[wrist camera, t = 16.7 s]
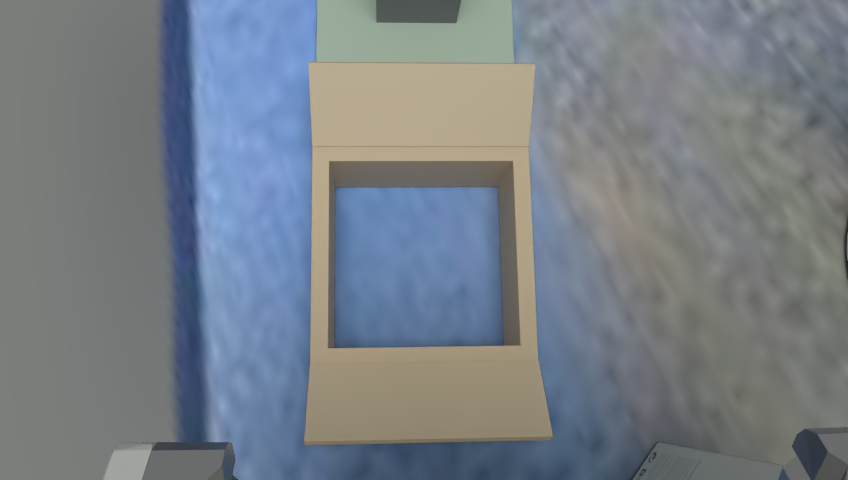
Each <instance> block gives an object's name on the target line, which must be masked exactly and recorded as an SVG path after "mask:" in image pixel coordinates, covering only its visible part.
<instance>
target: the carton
mask: <svg viewBox="0 0 848 480" xmlns="http://www.w3.org/2000/svg"><path fill="white" fill-rule="evenodd" d="M534 76H535V63H458V62H309V83H310V106H311V128H312V146H313V153H312V249H311V344H310V371H309V384H308V397H307V411H306V424H305V437H304V444H305V445H344V444H390V443H435V442H481V441H527V440H552V438H553V434H552V428H551V423H550V418H549V412H548V407H547V402H546V396H545V391H544V386H543V380H542V375H541V370H540V365H539V361H538V345H537V322H536V300H535V277H534V255H533V232H532V210H531V188H530V165H529V142H530V129H531V116H532V103H533V89H534ZM335 187H498V201H499V228H500V256H501V283H502V311H503V338H504V346H453V347H385V348H335Z"/></svg>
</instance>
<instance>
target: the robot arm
mask: <svg viewBox="0 0 848 480" xmlns="http://www.w3.org/2000/svg"><path fill="white" fill-rule="evenodd" d="M847 259H848V234H847ZM792 448H793V449H794V451H795V453H796V455H797V457H796V458H794V459H793V460H792V461H790V462H789V463H787V464H786V465H785V466H783V467H782V470H781V473H780V475H779V478H778V480H848V427H840V428H812V429H804V430H803V431H801V432H800V433H799V434H797V436H796V438H795V441H794V443H793V445H792ZM234 464H235V455H234V451H233V446H232V443H229V442H157V443H119V445H118V446H117V447H116V449H115V450H114V451H113V452H112V455H111V457H110V460H109V463H108V465H107V468H106V471H105V473H104V476H103V479H102V480H238V479H237V478H235V477H234V476H233V469H234Z"/></svg>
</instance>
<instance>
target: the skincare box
mask: <svg viewBox="0 0 848 480" xmlns="http://www.w3.org/2000/svg"><path fill="white" fill-rule="evenodd" d="M783 466H784V465H779V464H773V463H768V462H763V461H757V460H752V459H747V458H741V457H735V456H730V455H726V454H720V453H715V452H709V451H704V450H698V449H693V448H688V447H682V446H677V445H672V444H666V443H661V442H659V443H657V444H656V446H655V447H654V449H653V450H652V452H651V453H650V454H649V456H648V457H647V459H646V460H645V462H644V463H643V465H642V466H641V468H640V469H639V471H638V472H637V474H636V475H635V477H634V478H633V480H778V478H779V475H780V473H781V470H782V467H783Z"/></svg>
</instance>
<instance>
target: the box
mask: <svg viewBox="0 0 848 480" xmlns="http://www.w3.org/2000/svg"><path fill="white" fill-rule="evenodd" d="M460 4H461V0H376V21H377V23H457V18H458V13H459V8H460Z"/></svg>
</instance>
